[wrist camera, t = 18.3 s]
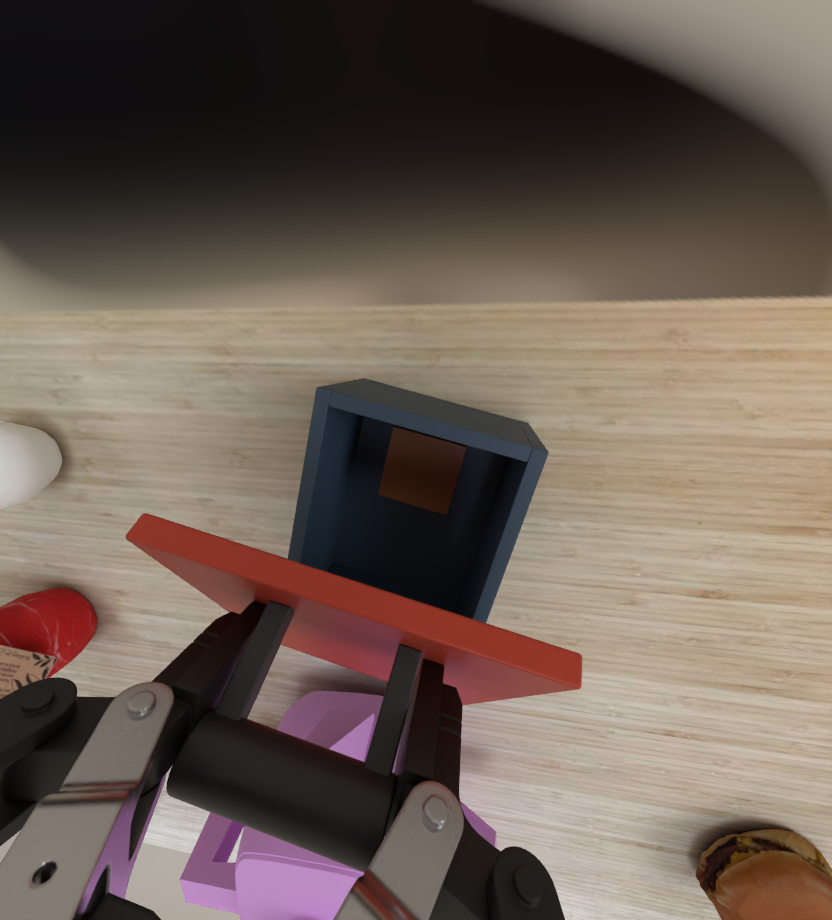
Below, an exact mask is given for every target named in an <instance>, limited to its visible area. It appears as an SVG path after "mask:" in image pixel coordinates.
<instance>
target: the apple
mask: <svg viewBox="0 0 832 920" xmlns="http://www.w3.org/2000/svg"><path fill="white" fill-rule="evenodd" d="M62 462H63V460H62V455H61V452H60V449H59V446H58V444H57V442H56V441H55V440H54V439H53V438H52V437H51V436H49V435H48V434H47V433H45V432H44V431H42V430H39V429H36V428H32V427H28V426H23V425H19V424H14V423H10V422H4V421H0V509H4V508H9V507H14V506H17V505H20V504H22V503H24V502H26V501H28V500H30V499H32V498H33V497H35V496H36V495H37V494H39V493H40V492H41V491H42V490H43V489H44V488H45V487H46V486H47V485H48V484H50V483H51V482H52V481H53V480H54V479H55V478H56V476H57V475H58V473H59V471H60V468H61V466H62Z"/></svg>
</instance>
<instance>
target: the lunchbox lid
mask: <svg viewBox="0 0 832 920" xmlns="http://www.w3.org/2000/svg"><path fill="white" fill-rule="evenodd" d="M126 539H127V540H128V541H130V542H131V543H133V544H134V545H135V546H137V547H138V548H140V549H141V550H142V551H144V552H145V553H147V554H148V555H149V556H151V557H152V558H154V559H155V560H156V561H158V562H159V563H161V564H162V565H164V566H165V567H166V568H168V569H169V570H171V571H172V572H173V573H175V574H176V575H178V576H179V577H180V578H182V579H183V580H185V581H186V582H187V583H189V584H190V585H192V586H193V587H195V588H196V589H197V590H199V591H200V592H202V593H203V594H204V595H206V596H207V597H209V598H210V599H211V600H213V601H214V602H216V603H217V604H218V605H220V606H221V607H223V608H224V609H226V610H227V611H228V612H235V613H238V614H241V613H242V612H243V611H244V609H245V608H246V607H247V606H248V605H249V604H250V603H251V602H253V601H255V602H258V603H261V604H264V605H267V606H266V608H265V610H264V612H263V614H262V616H261V618H260V620H259V622H258V624H257V626H256V628H255V630H254V632H253V634H252V636H251V638H250V640H249V642H248V644H247V646H246V648H245V650H244V652H243V654H242V656H241V658H240V660H239V662H238V664H237V666H236V668H235V670H234V672H233V674H232V676H231V678H230V680H229V682H228V684H227V686H226V689H225V691H224V693H223V695H222V697H221V699H220V701H219V703H218V705H217V707H216V708H213V709H211V710H209V711H208V712H207V713H205V714H204V716H203V717H202V718H201V719H200V720H199V721H198V722H197V724H196V725H195V726H194V728H193V729H192V730H191V732H190V733H189V735H188V737H187V738H186V740H185V741H184V743H183V745H182V747H181V749H180V750H179V752H178V755H177V757H176V759H175V761H174V763H173V766H172V768H171V771H170V774H169V777H168V781H167V793H168V794H169V796H171V797H174V798H176V799H179V800H181V801H184V802H186V803H189V804H192V805H194V806H197V807H199V808H202V809H204V810H207V811H209V812H212V813H214V814H217V815H219V816H222V817H224V818H227V819H230V820H232V821H235V822H237V823H240V824H242V825H245V826H247V827H250V828H252V829H255V830H257V831H260V832H262V833H265V834H268V835H270V836H273V837H275V838H278V839H280V840H283V841H285V842H288V843H290V844H293V845H295V846H298V847H300V848H303V849H306V850H308V851H311V852H313V853H316V854H318V855H321V856H323V857H326V858H328V859H331V860H333V861H336V862H338V863H341V864H344V865H346V866H349V867H351V868H354V869H356V870H359V871H361V872H364V873H365V871H366V870H367V868H368V866H369V864H370V863H371V861H372V859H373V857H374V856H375V854H376V852H377V850H378V849H379V847H380V845H381V843H382V841H383V840H384V837H385V833H386V828H387V824H388V820H389V816H390V811H391V807H392V802H393V797H394V792H395V786H396V775H395V774H394V773H393V772H392V771H393V767H394V763H395V759H396V755H397V751H398V747H399V743H400V739H401V735H402V731H403V727H404V723H405V719H406V715H407V711H408V707H409V704H410V700H411V696H412V692H413V688H414V684H415V680H416V677H417V673H418V670H419V667H420V664H421V661H422V659H423V658H424V659H427V660H430V661H433V662H436V663H439V664H442V665H444V677H443V683H444V684H447V685H450V686H453V687H456V688H457V690H458V693H459V696H460V699H461V702H462V705H467V704H474V703H482V702H489V701H496V700H503V699H511V698H518V697H525V696H532V695H540V694H547V693H554V692H561V691H569V690H576V689H580V688H581V677H582V655H580V654H579V653H576V652H573V651H570V650H567V649H564V648H561V647H557V646H554V645H551V644H548V643H545V642H542V641H539V640H536V639H533V638H530V637H527V636H524V635H520V634H517V633H514V632H511V631H508V630H505V629H502V628H499V627H496V626H493V625H490V624H487V623H483V622H480V621H477V620H474V619H471V618H468V617H465V616H462V615H459V614H456V613H453V612H449V611H446V610H443V609H440V608H437V607H434V606H431V605H428V604H425V603H422V602H419V601H416V600H412V599H409V598H406V597H403V596H400V595H397V594H394V593H391V592H388V591H385V590H382V589H378V588H375V587H372V586H369V585H366V584H363V583H360V582H357V581H354V580H351V579H348V578H345V577H341V576H338V575H335V574H332V573H329V572H326V571H323V570H320V569H317V568H314V567H311V566H308V565H304V564H301V563H298V562H295V561H292V560H289V559H286V558H283V557H280V556H277V555H274V554H270V553H267V552H264V551H261V550H258V549H255V548H252V547H249V546H246V545H243V544H240V543H237V542H233V541H230V540H227V539H224V538H221V537H218V536H215V535H212V534H209V533H206V532H203V531H200V530H196V529H193V528H190V527H187V526H184V525H181V524H178V523H175V522H172V521H169V520H166V519H162V518H159V517H156V516H153V515H150V514H142V515H141V517H140V518H139V519H138V520H137V522H136V523H135V524H134V526H133V527H132V528H131V529H130V531H129V532H128V533H127V535H126ZM280 645H283V646H286V647H289V648H292V649H295V650H297V651H300V652H303V653H306V654H309V655H312V656H315V657H318V658H321V659H323V660H326V661H329V662H332V663H335V664H338V665H341V666H344V667H347V668H349V669H352V670H355V671H358V672H361V673H364V674H367V675H370V676H373V677H375V678H378V679H381V680H384V681H387V682H388V684H387V687H386V691H385V694H384V698H383V701H382V705H381V708H380V711H379V715H378V718H377V722H376V725H375V729H374V732H373V736H372V739H371V743H370V746H369V750H368V753H367V757H366V760H365V762H363V761H360V760H357V759H355V758H352V757H349V756H347V755H344V754H341V753H338V752H336V751H333V750H330V749H328V748H325V747H322V746H319V745H317V744H314V743H311V742H308V741H306V740H303V739H300V738H298V737H295V736H292V735H289V734H287V733H284V732H281V731H279V730H276V729H273V728H270V727H268V726H265V725H262V724H260V723H257V722H254V721H251V720H249V719H247V717H248V715H249V713H250V711H251V709H252V706H253V704H254V702H255V700H256V697H257V695H258V693H259V691H260V689H261V686H262V684H263V682H264V680H265V678H266V675H267V673H268V671H269V669H270V666H271V664H272V662H273V660H274V658H275V655H276V653H277V651H278V649H279V647H280Z"/></svg>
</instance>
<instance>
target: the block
mask: <svg viewBox="0 0 832 920" xmlns="http://www.w3.org/2000/svg"><path fill="white" fill-rule="evenodd" d="M466 449H467V445H464V444H460V443H457V442H453V441H450V440H446V439H443V438H439V437H436V436H432V435H429V434H425V433H421V432H418V431H414V430H411V429H407V428H404V427H400V426H397V425H395V426H394V427H393V431H392V435H391V440H390V444H389V448H388V453H387V457H386V461H385V465H384V470H383V474H382V478H381V483H380V487H379V491H378V495H380V496H384V497H387V498H390V499H394V500H397V501H401V502H404V503H407V504H411V505H414V506H417V507H421V508H424V509H428V510H431V511H434V512H438V513H441V514H444V515H447V514H448V510H449V507H450V503H451V500H452V497H453V493H454V490H455V486H456V483H457V480H458V476H459V473H460V469H461V466H462V463H463V459H464V456H465V453H466Z"/></svg>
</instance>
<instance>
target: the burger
mask: <svg viewBox="0 0 832 920" xmlns="http://www.w3.org/2000/svg"><path fill="white" fill-rule="evenodd" d="M696 877H697V879H698V880H699V882H700V886H701V888H702V889H703V890H704V892H705V893H706V895H707V896H708V898H709V899H710V900H711V901H712V902H713V904H714V906H715V908H716V910H717V912H718V914H719V916H720V917H721V919H722V920H832V869H831V868H830V866H829V864H828V862H827V861H826V859H825V858H824V857H823V855H822V854H821V853H820V851H818V850H817V849H816V848H815V847H814V846H813V845H812V844H811V843H809V842H808V841H807V840H805V839H804V838H803V837H801V836H799V835H798V834H796V833H794V832H793V831H787V830H781V829H762V830H757V831H749V832H745V833H741V834H730V835H726V836H725V837H723V838H719V839H718V840H717V841H716V842H715V843H713V844H712V845H711V846H710V847H709V849H708V850H706V851H704V852H703V853H702V854H701V861H700V868H698V869H697V871H696Z"/></svg>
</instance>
